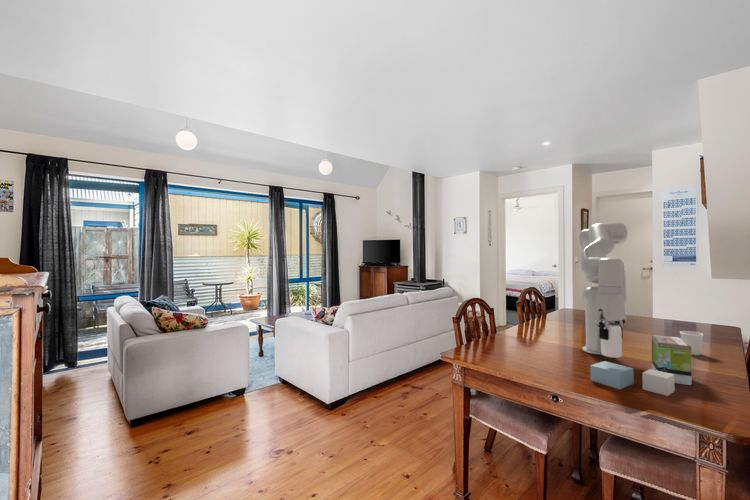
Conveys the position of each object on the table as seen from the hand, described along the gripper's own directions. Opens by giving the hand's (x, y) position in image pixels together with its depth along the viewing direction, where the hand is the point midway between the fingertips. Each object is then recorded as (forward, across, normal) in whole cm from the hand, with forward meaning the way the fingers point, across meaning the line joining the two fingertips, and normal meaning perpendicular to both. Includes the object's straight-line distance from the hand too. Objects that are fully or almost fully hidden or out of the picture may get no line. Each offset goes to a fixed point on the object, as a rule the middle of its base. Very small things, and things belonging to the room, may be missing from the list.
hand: (611, 337), depth 129 cm
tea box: (+17, -26, +4) cm, 31 cm away
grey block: (+17, -8, +11) cm, 22 cm away
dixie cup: (+17, -69, -13) cm, 72 cm away
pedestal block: (+17, 0, 0) cm, 17 cm away
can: (+7, 0, 0) cm, 7 cm away
